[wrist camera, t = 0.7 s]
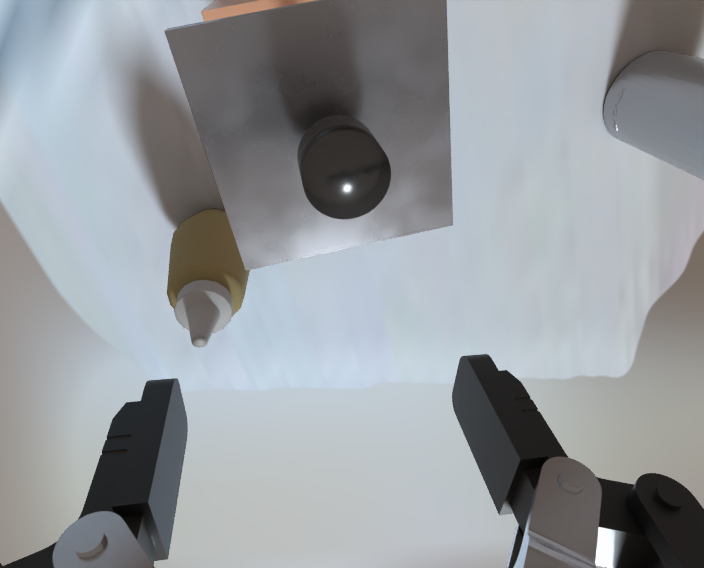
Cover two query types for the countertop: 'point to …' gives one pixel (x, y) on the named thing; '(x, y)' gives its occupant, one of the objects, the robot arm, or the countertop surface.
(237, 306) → the squeeze bottle
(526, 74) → the countertop surface
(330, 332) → the countertop surface
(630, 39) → the countertop surface
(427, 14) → the drawer with knob
